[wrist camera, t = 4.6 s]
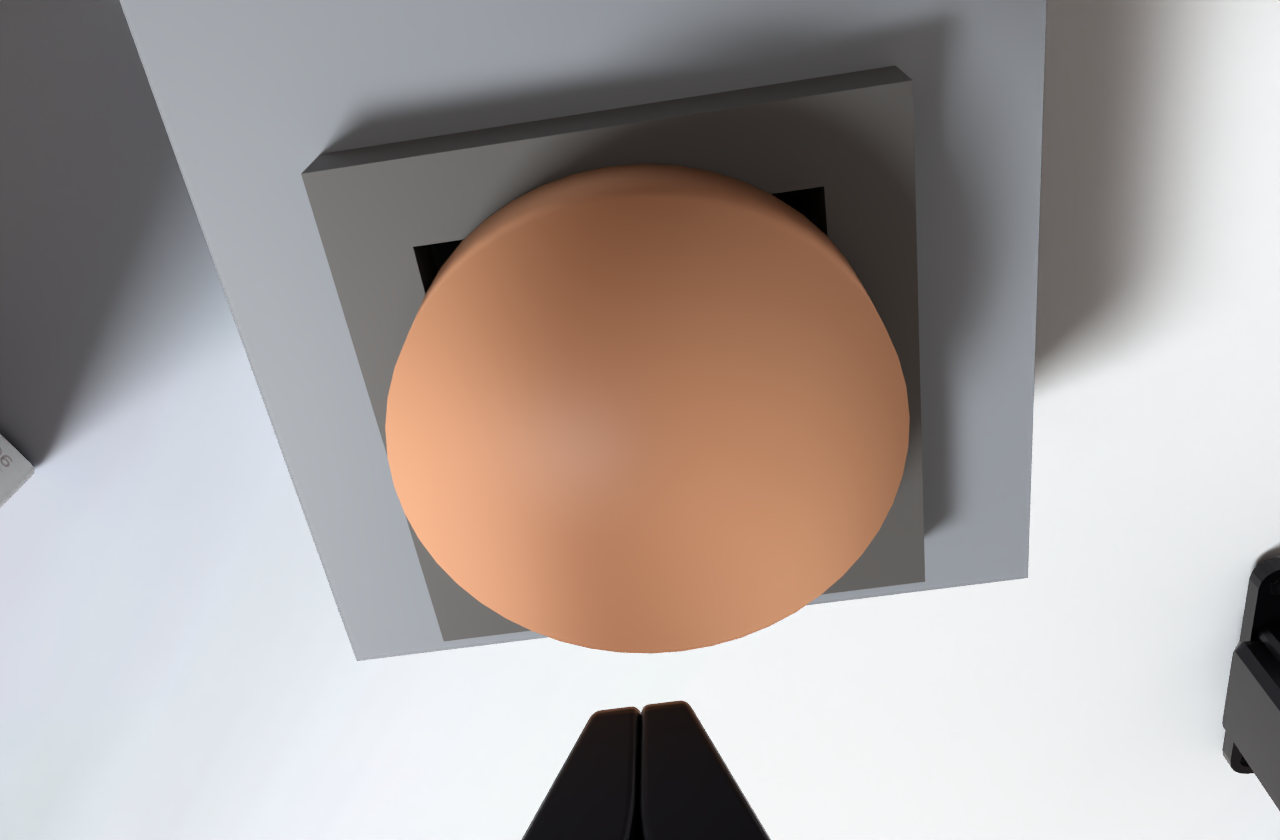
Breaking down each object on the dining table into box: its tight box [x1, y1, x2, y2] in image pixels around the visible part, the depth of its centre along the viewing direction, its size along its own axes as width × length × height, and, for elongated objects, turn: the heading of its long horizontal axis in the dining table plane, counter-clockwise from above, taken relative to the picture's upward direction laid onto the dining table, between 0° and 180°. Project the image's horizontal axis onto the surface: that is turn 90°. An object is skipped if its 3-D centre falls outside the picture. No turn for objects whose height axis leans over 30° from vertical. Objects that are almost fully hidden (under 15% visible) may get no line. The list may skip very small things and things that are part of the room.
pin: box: [385, 164, 910, 653], centre depth 17 cm, size 7×7×6 cm
